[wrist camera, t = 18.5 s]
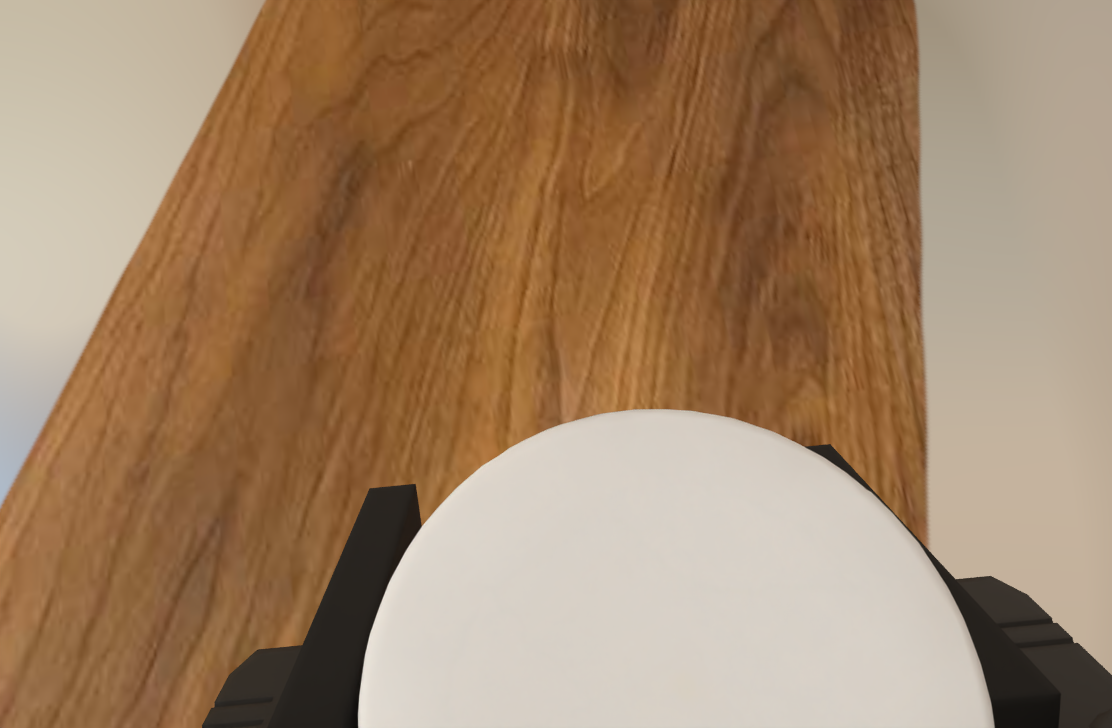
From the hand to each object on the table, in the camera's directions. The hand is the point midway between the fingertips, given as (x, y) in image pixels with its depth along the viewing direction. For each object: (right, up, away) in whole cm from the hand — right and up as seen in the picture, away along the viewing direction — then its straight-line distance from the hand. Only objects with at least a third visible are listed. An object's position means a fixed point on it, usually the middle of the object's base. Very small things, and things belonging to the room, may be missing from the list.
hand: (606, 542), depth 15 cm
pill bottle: (0, -5, +1) cm, 5 cm away
